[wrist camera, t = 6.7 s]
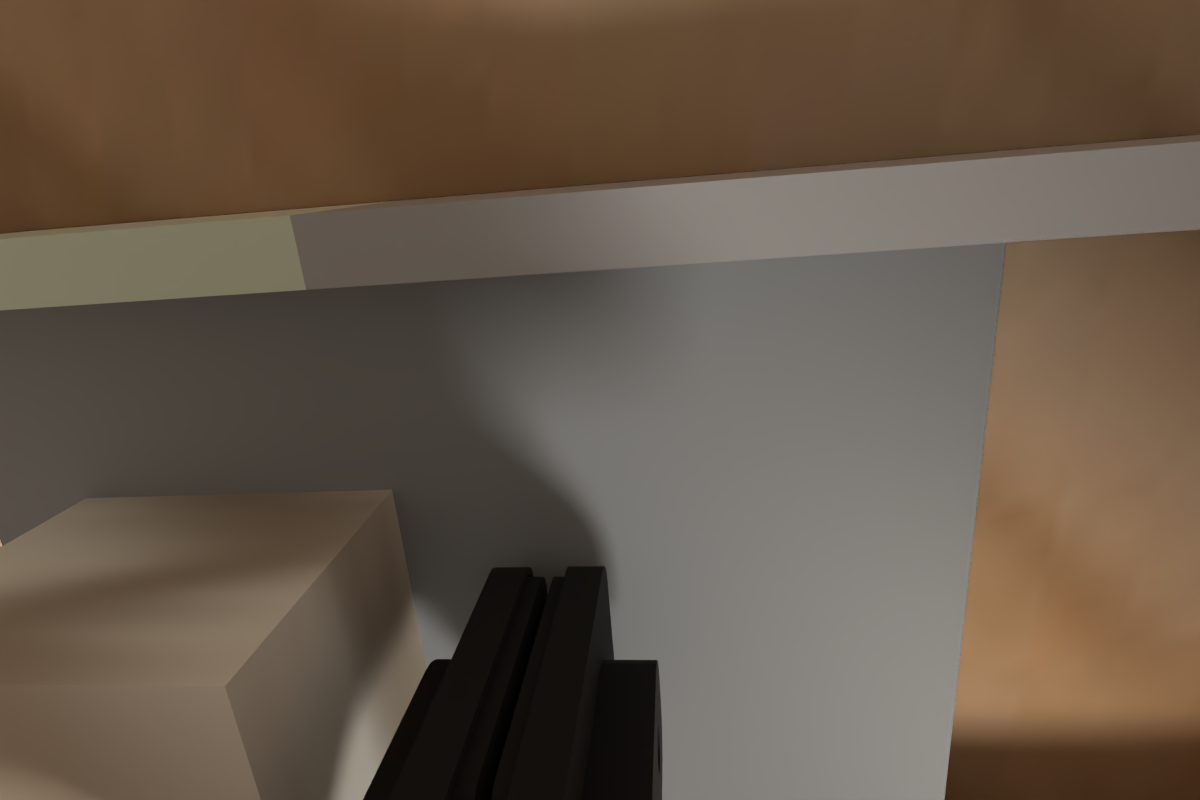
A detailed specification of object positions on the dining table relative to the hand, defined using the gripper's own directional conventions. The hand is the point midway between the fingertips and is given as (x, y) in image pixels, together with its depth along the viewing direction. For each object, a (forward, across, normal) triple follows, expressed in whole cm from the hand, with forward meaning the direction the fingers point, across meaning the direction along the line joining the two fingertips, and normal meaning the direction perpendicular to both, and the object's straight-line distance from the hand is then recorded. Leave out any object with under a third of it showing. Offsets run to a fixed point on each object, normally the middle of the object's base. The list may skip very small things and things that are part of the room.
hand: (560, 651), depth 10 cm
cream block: (0, +5, 0) cm, 5 cm away
